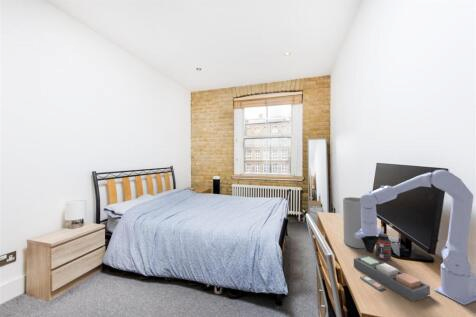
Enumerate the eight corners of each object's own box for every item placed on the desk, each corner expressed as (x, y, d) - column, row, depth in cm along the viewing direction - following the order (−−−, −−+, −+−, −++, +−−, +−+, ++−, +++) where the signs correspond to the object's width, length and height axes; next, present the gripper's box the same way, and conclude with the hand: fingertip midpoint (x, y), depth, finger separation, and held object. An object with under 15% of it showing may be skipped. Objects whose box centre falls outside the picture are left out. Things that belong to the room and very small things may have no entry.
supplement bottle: (384, 262, 94) (384, 237, 93) (372, 255, 99) (372, 233, 99) (394, 259, 95) (394, 236, 95) (382, 254, 101) (381, 231, 101)
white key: (385, 270, 84) (385, 263, 84) (398, 277, 79) (398, 269, 79) (376, 272, 82) (376, 265, 82) (389, 279, 78) (388, 271, 78)
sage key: (368, 263, 91) (368, 256, 91) (379, 268, 86) (379, 262, 86) (360, 265, 89) (360, 258, 89) (370, 271, 85) (370, 264, 85)
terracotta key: (405, 280, 77) (405, 272, 77) (420, 288, 72) (420, 280, 72) (395, 283, 75) (395, 275, 75) (410, 292, 70) (410, 283, 70)
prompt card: (365, 276, 83) (365, 275, 83) (385, 289, 75) (385, 287, 75) (360, 278, 82) (360, 276, 82) (379, 290, 74) (379, 289, 74)
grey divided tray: (368, 262, 93) (368, 255, 93) (429, 295, 71) (429, 286, 71) (353, 266, 91) (353, 258, 91) (413, 301, 68) (413, 291, 68)
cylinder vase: (367, 241, 116) (366, 198, 115) (371, 250, 104) (370, 202, 104) (343, 238, 121) (342, 196, 121) (344, 246, 110) (343, 201, 109)
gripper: (372, 216, 94) (373, 245, 94) (348, 220, 89) (349, 251, 89) (388, 221, 87) (388, 252, 87) (362, 225, 82) (363, 258, 83)
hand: (369, 252), depth 88 cm, fingers closed
